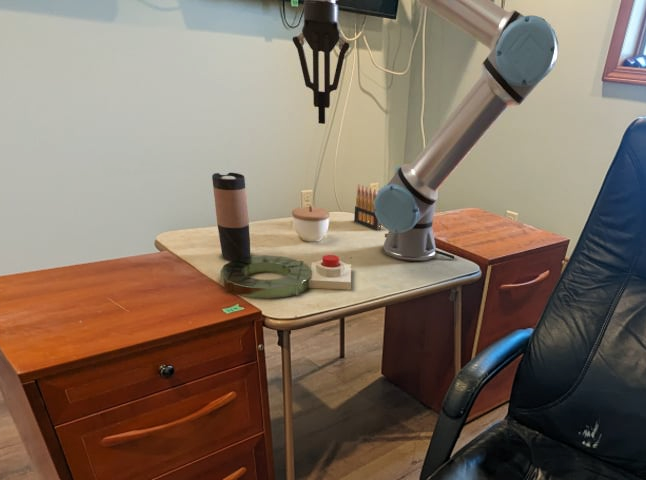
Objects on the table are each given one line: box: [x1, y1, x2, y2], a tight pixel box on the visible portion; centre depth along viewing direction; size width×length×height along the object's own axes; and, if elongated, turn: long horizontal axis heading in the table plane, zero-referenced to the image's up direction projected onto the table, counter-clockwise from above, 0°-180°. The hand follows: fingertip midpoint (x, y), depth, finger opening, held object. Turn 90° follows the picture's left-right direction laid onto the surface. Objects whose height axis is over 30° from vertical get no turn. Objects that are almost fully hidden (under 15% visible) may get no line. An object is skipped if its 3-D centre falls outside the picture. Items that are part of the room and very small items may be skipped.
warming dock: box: [219, 254, 312, 300], centre depth 124 cm, size 21×21×2 cm
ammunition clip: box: [353, 183, 382, 231], centre depth 166 cm, size 11×2×12 cm, turn 49°
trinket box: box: [291, 205, 330, 243], centre depth 151 cm, size 11×11×9 cm
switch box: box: [308, 259, 352, 291], centre depth 128 cm, size 10×12×4 cm
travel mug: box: [211, 172, 252, 262], centre depth 130 cm, size 8×8×20 cm
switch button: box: [321, 254, 340, 268], centre depth 126 cm, size 4×4×2 cm
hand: (321, 122), depth 125 cm, fingers closed
